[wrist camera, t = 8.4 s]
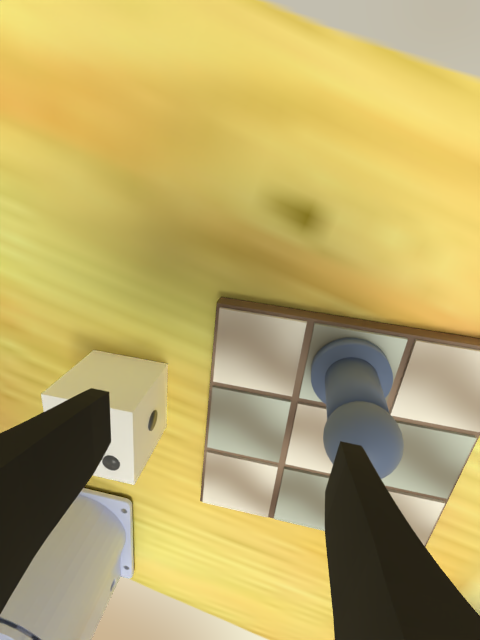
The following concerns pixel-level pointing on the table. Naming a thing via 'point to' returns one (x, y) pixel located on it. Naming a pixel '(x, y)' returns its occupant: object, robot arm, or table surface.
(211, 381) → the board
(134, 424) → the die
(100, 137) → the table surface
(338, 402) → the pawn
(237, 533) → the table surface
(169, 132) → the table surface
